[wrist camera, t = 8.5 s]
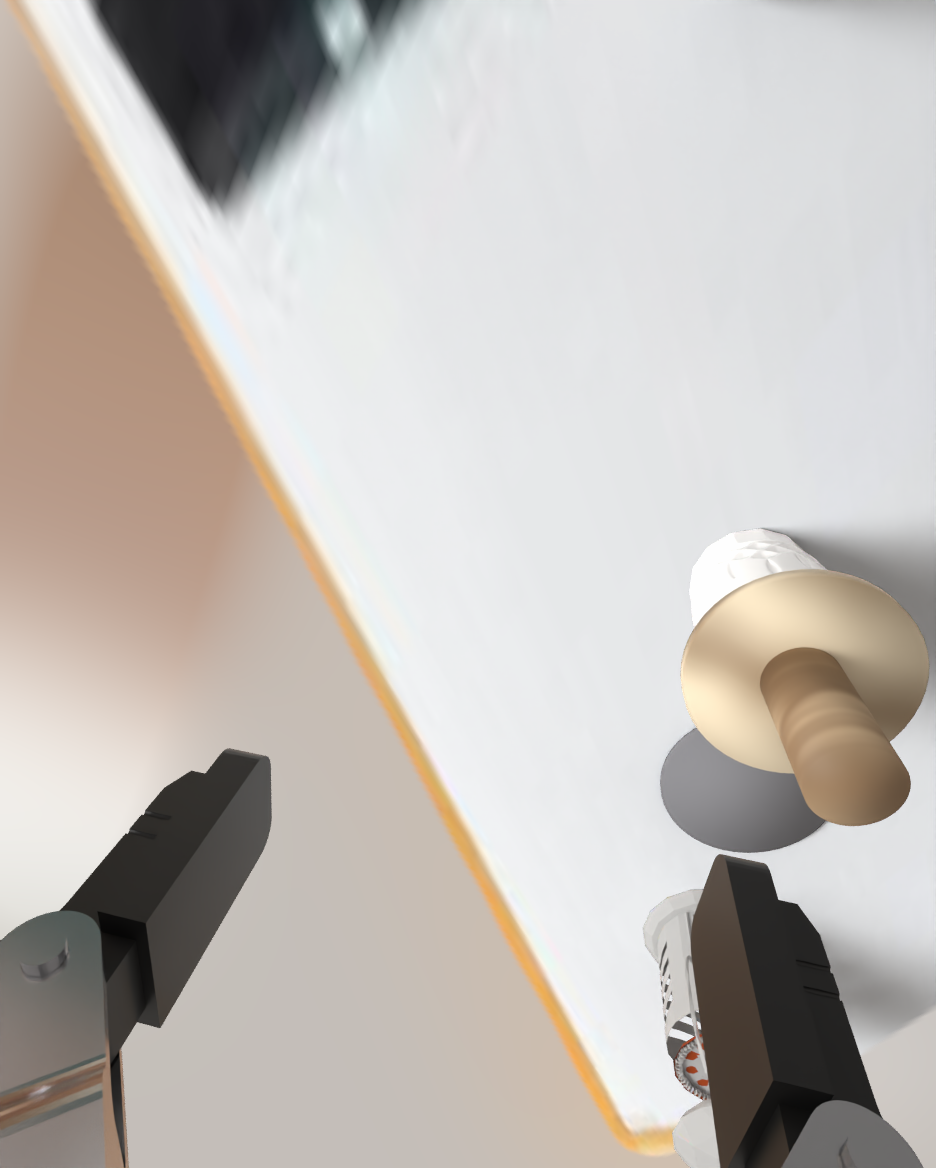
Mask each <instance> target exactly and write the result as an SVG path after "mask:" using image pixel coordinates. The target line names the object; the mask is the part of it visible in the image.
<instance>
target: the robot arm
mask: <svg viewBox="0 0 936 1168" xmlns="http://www.w3.org/2000/svg"><path fill="white" fill-rule="evenodd" d="M271 818H272V816H271V764H270V760H269V758H268V757H267V756H263V755H258V754H253V753H249V752H244V751H239V750H234V749H230V748H229V749H226V750H224V751H223V752H222V753H221V755H220V756H219V757H218V758H217V759H216V761H215V762H214V763H213V765H212V766H211V767H210V769H209V770H208V771H207V773H205V774H204V773H199V772H195V771H191V772H189V773H187V774H185V775H184V776H182V777H181V778H179V779H178V780H176V781H174V782H173V783H171V784H170V785H168V786H166V787H165V788H164V789H163V790H162V791H161V792H160V793H159V795H158V796H157V797H156V798H155V799H154V801H153V802H152V803H151V804H150V805H149V807H148V808H147V809H146V810H145V814H144V815H141V816H140V817H139V818H138V820H137V821H136V822H135V823H134V825H133V826H132V827H131V828H130V831H129V833H128V834H125V835H124V836H123V838H122V839H121V840H120V841H119V842H118V843H117V844H116V846H115V847H114V848H113V849H112V850H111V852H110V853H109V854H108V855H107V856H106V857H105V859H104V860H103V861H102V862H101V863H100V865H99V866H98V867H97V868H96V869H95V870H94V872H93V873H92V874H91V875H90V877H89V878H88V879H87V880H86V881H85V882H84V884H83V885H82V886H81V887H80V888H79V889H78V891H77V892H76V893H75V894H74V896H73V897H72V898H71V899H70V900H69V901H68V902H67V903H66V905H65V906H64V907H63V908H62V909H61V910H60V911H56V912H51V913H47V914H43V915H40V916H37V917H35V918H33V919H31V920H28V921H26V922H25V923H23V924H21V925H20V926H18V927H16V928H15V929H14V930H13V931H11V932H10V933H8V934H7V935H6V936H5V937H4V938H3V939H2V940H0V1168H129V1163H128V1147H127V1129H126V1113H125V1097H124V1081H123V1066H122V1065H123V1064H122V1051H121V1047H122V1045H123V1044H124V1042H125V1040H126V1039H127V1037H128V1036H129V1034H130V1032H131V1031H132V1029H133V1027H134V1026H135V1024H136V1023H137V1022H139V1023H143V1024H147V1025H151V1026H154V1027H158V1028H161V1026H162V1024H163V1022H164V1021H165V1019H166V1017H167V1016H168V1014H169V1012H170V1010H171V1008H172V1007H173V1005H174V1004H175V1002H176V1000H177V998H178V997H179V995H180V993H181V992H182V990H183V988H184V986H185V984H186V983H187V981H188V979H189V978H190V976H191V974H192V972H193V971H194V969H195V967H196V966H197V964H198V962H199V961H200V959H201V957H202V955H203V953H204V952H205V950H206V948H207V947H208V945H209V943H210V942H211V940H212V938H213V936H214V935H215V933H216V931H217V930H218V928H219V926H220V924H221V923H222V921H223V919H224V917H225V916H226V914H227V912H228V910H229V909H230V907H231V905H232V904H233V902H234V900H235V899H236V897H237V895H238V893H239V892H240V890H241V888H242V886H243V885H244V883H245V881H246V880H247V878H248V876H249V874H250V873H251V871H252V869H253V868H254V866H255V864H256V862H257V861H258V859H259V857H260V855H261V854H262V852H263V849H264V847H265V845H266V842H267V839H268V836H269V832H270V827H271ZM691 957H692V964H693V972H694V979H695V986H696V994H697V1001H698V1008H699V1016H700V1023H701V1030H702V1038H703V1045H704V1052H705V1060H706V1067H707V1074H708V1082H709V1089H710V1096H711V1104H712V1111H713V1118H714V1126H715V1133H716V1140H717V1148H718V1155H719V1162H720V1168H923V1166H922V1164H921V1163H920V1161H919V1159H918V1157H917V1156H916V1154H915V1152H914V1151H913V1150H912V1148H911V1147H910V1146H909V1144H908V1143H907V1142H906V1141H905V1140H904V1138H903V1137H902V1136H901V1135H900V1134H899V1133H898V1132H897V1131H896V1130H895V1129H894V1128H893V1127H892V1126H891V1125H890V1124H889V1123H887V1122H886V1121H885V1120H883V1118H882V1116H881V1114H880V1112H879V1109H878V1107H877V1104H876V1101H875V1098H874V1095H873V1092H872V1089H871V1086H870V1083H869V1080H868V1077H867V1074H866V1072H865V1069H864V1065H863V1062H862V1059H861V1056H860V1054H859V1051H858V1048H857V1045H856V1042H855V1039H854V1036H853V1033H852V1030H851V1027H850V1024H849V1021H848V1018H847V1015H846V1012H845V1009H844V1006H843V1003H842V1001H840V1000H839V991H838V988H837V985H836V982H835V979H834V976H833V974H832V973H830V964H829V961H828V958H827V955H826V952H825V949H824V946H823V943H822V940H821V937H820V934H819V933H818V932H817V930H816V929H815V928H814V926H813V925H812V924H811V922H810V921H809V919H808V918H807V917H806V915H805V914H804V913H803V911H802V910H801V909H800V907H799V906H798V904H794V903H790V902H785V901H780V900H778V897H777V894H776V890H775V887H774V883H773V880H772V876H771V873H770V870H769V868H768V866H767V865H766V864H764V863H760V862H755V861H750V860H746V859H741V858H736V857H731V856H727V855H722V854H719V855H718V856H717V857H716V858H715V860H714V862H713V865H712V868H711V870H710V873H709V876H708V879H707V881H706V884H705V887H704V889H703V892H702V895H701V898H700V900H699V903H698V906H697V908H696V911H695V914H694V918H693V922H692V929H691Z"/></svg>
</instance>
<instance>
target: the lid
mask: <svg viewBox="0 0 936 1168" xmlns="http://www.w3.org/2000/svg"><path fill="white" fill-rule="evenodd" d="M928 678H929V658H928V651H927V647H926V644H925V641H924V638H923V636H922V634H921V632H920V630H919V628H918V626H917V625H916V623H915V622H914V621H913V619H912V618H911V616H910V615H909V614H908V613H907V612H906V611H905V610H904V609H903V608H902V607H901V606H900V605H899V604H898V603H897V602H896V601H895V600H894V599H893V598H892V597H891V596H890V595H889V594H887V593H886V592H885V591H883V590H882V589H881V588H879V587H877V586H875V585H873V584H872V583H870V582H868V581H866V580H863V579H861V578H858V577H855V576H853V575H849V574H845V573H841V572H837V571H830V570H821V569H800V570H791V571H784V572H779V573H775V574H770V575H767V576H764V577H761V578H758V579H755V580H753V581H751V582H749V583H746V584H744V585H742V586H740V587H738V588H737V589H735V590H733V591H732V592H730V593H729V594H727V595H725V596H724V597H723V598H722V599H720V600H719V601H718V602H717V603H715V604H714V605H713V606H712V607H711V608H710V609H709V610H708V611H707V612H706V613H705V614H704V615H703V617H702V618H701V619H700V621H699V622H698V623H697V625H696V626H695V628H694V630H693V631H692V633H691V635H690V637H689V639H688V641H687V644H686V646H685V649H684V653H683V657H682V662H681V685H682V691H683V696H684V700H685V703H686V707H687V710H688V712H689V715H690V717H691V719H692V721H693V722H694V724H695V726H696V727H697V729H698V730H699V731H700V733H701V734H702V735H703V736H704V737H705V738H706V740H707V741H709V742H710V743H711V744H712V745H713V746H714V747H715V748H717V749H718V750H719V751H721V752H722V753H724V754H725V755H727V756H729V757H731V758H732V759H734V760H736V761H738V762H740V763H743V764H746V765H748V766H751V767H754V768H758V769H762V770H766V771H772V772H778V773H792V774H795V777H796V779H797V781H798V784H799V786H800V789H801V791H802V794H803V796H804V799H805V801H806V803H807V805H808V807H809V808H810V809H811V810H812V811H813V812H814V813H815V814H816V815H818V816H819V817H821V818H822V819H824V820H826V821H829V822H831V823H835V824H839V825H845V826H861V825H868V824H872V823H875V822H878V821H881V820H883V819H885V818H887V817H889V816H891V815H892V814H893V813H895V812H896V811H897V810H898V809H899V808H900V807H901V806H902V805H903V804H904V802H905V801H906V799H907V797H908V795H909V792H910V786H911V781H910V776H909V773H908V771H907V769H906V767H905V766H904V764H903V763H902V761H901V759H900V758H899V756H898V755H897V753H896V752H895V750H894V749H893V747H892V745H891V744H890V741H891V740H892V739H894V738H895V737H896V736H897V735H898V734H899V733H900V732H901V731H902V730H903V729H904V728H905V727H906V725H907V724H908V723H909V722H910V720H911V719H912V718H913V716H914V715H915V713H916V711H917V709H918V708H919V706H920V704H921V702H922V699H923V697H924V694H925V692H926V687H927V683H928Z"/></svg>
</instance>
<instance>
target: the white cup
mask: <svg viewBox="0 0 936 1168" xmlns="http://www.w3.org/2000/svg"><path fill="white" fill-rule="evenodd" d="M800 569H821V570H827V569H826V568H825V567H824V566H823V565H821V564H820V563H819V562H818V561H817V560H816V559H815V558H814V557H813V556H811V555H809V554H807V553H806V552H805V551H804V550H803V549H802V548H801V547H799V546H798V545H797V544H796V543H795V542H794V541H793V540H792V539H790V538H789V537H788V536H787V535H784V534H780V533H776V532H772V531H768V530H765V529H761V528H758V529H751V530H745V531H738V532H732V533H730V534H728V535H727V536H725V537H723V538H722V539H720V540H718V541H717V542H715V543H713V544H712V545H710V546H708V547H707V548H706V550H705V551H704V553H703V554H702V556H701V557H700V558H699V560H698V561H697V563H696V564H695V566H694V567H693V569H692V577H691V584H690V591H689V593H690V598H691V603H692V619H693V625H694V628H695V626H696V625H697V623H698V622H699V621H700V619H701V618H702V617H703V615H704V614H705V613H706V612H707V611H708V610H709V609H710V608H711V607H712V606H713V605H714V604H715V603H717V602H718V601H719V600H720V599H722V598H723V597H724V596H725V595H727V594H729V593H730V592H732V591H733V590H735V589H737V588H738V587H740V586H742V585H744V584H746V583H749V582H751V581H753V580H755V579H758V578H761V577H764V576H767V575H770V574H775V573H779V572H784V571H791V570H800Z"/></svg>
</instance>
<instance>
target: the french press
mask: <svg viewBox="0 0 936 1168" xmlns="http://www.w3.org/2000/svg"><path fill="white" fill-rule="evenodd" d="M702 892H703V890H689V891H686V892H683V893H680V894H676V895H673V896H670V897H667V898H666V899H665V900H663V901H662V902H661V903H660V904H658V905H657V906H656V907H655V908H653V909H652V910H651V911H650V913H649V915H648V917H647V920H646V922H645V924H644V926H643V934H644V941H645V947H646V948H647V949H648V951H649V952H650V953H651V955H652V956H653V958H654V959H655V960H656V962H657V963H658V964H659V968H660V980H661V986H662V990H661V992H662V1000H663V1004H664V1005H663V1013H664V1019H665V1035H666V1043H667V1048H668V1054H669V1055H670V1056H671V1058H672V1059H673V1060H674V1061H673V1063H674V1070H675V1076H676V1078H677V1079H678V1080H679V1081H680V1083H681V1084H682V1085H683V1086H684V1088H685V1089H686V1090H687V1091H689V1092H690V1093H692V1094H694V1096H697V1097H698V1098H700V1099H702V1100H703V1101H702V1102H700V1103H699V1104H697V1105H696V1106H694V1107H693V1108H691V1109H690V1110H688V1111H687V1112H685V1114H684V1115H683V1116H682V1117H681V1119H680V1121H679V1122H678V1124H677V1126H676V1127H675V1129H674V1131H673V1133H672V1135H673V1142H674V1150H675V1151H676V1152H677V1154H678V1155H679V1156H680V1157H681V1159H682V1160H683V1161H684V1162H685V1164H686V1165H687V1166H688V1167H690V1168H720V1162H719V1155H718V1148H717V1140H716V1133H715V1126H714V1118H713V1111H712V1104H711V1096H710V1089H709V1082H708V1074H707V1067H706V1060H705V1052H704V1045H703V1038H702V1030H700V1029H698V1026H697V1022H696V1021H698V1022H700V1016H699V1013H698V1012H696V1011H698V1010H699V1008H698V1001H697V994H696V986H695V979H694V972H693V964H692V957H691V929H692V922H693V918H694V914H695V911H696V908H697V906H698V903H699V900H700V898H701V895H702ZM662 976H664V979H663V982H662ZM668 978H669V979H670V983H669V985H666V982H667V979H668ZM664 992H666V996H665V1000H664V997H663V994H664ZM670 994H671V995H672V997H673V1000H672V1002H671V1001H668V999H669V997H670ZM666 1009H667V1010H668V1013H667V1017H666V1016H665V1011H666ZM685 1016H687V1017H690V1018H692V1022H693V1026H694V1027H693V1026H691V1025H689V1024H686V1023H683V1022H681V1021H679V1020H680V1019H682V1018H683V1017H685ZM671 1028H673V1029H677V1030H680V1031H683V1032H685V1033H688V1034H691V1035H693V1036H695V1037H693V1038H691V1039H690V1040H688V1041H687V1042H686V1041H683V1040H681V1039H677V1038H673V1037H669V1036H668V1035H669V1031H670V1030H671Z"/></svg>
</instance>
